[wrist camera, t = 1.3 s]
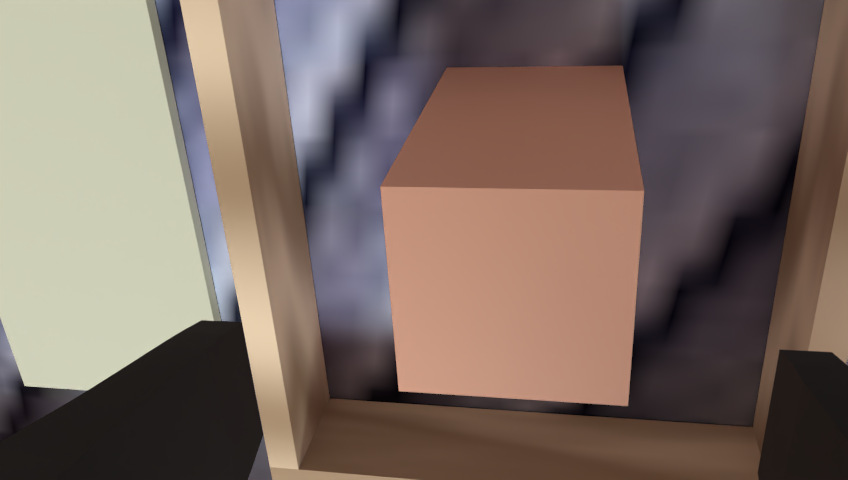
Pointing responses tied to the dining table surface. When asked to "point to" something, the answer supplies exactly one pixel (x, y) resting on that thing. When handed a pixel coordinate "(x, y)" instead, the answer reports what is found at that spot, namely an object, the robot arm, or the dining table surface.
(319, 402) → the wooden tray
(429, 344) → the block
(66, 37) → the mat
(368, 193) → the dining table surface
